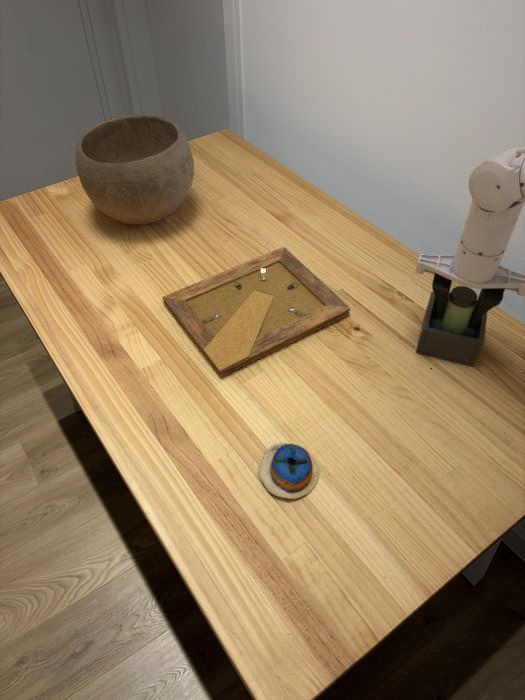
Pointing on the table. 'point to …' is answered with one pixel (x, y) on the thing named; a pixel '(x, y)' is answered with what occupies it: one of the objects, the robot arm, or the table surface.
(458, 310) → the green lidded canister
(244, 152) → the table surface
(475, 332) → the bin
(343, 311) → the picture frame
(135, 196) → the bowl
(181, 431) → the table surface
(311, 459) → the dessert
